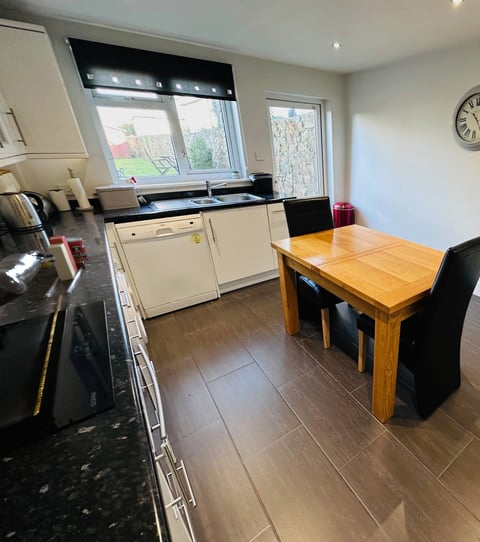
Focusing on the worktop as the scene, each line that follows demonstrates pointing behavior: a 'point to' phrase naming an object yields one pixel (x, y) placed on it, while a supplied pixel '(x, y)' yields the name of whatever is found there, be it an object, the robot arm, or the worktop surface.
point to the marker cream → (62, 261)
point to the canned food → (77, 249)
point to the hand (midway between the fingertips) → (34, 253)
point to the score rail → (80, 268)
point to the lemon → (46, 265)
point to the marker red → (63, 240)
